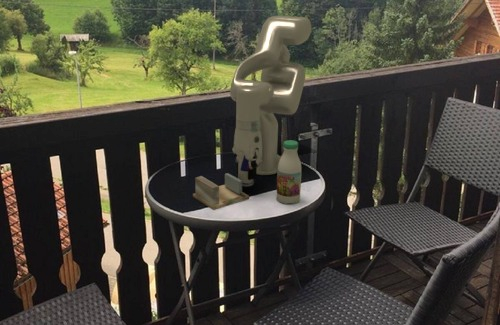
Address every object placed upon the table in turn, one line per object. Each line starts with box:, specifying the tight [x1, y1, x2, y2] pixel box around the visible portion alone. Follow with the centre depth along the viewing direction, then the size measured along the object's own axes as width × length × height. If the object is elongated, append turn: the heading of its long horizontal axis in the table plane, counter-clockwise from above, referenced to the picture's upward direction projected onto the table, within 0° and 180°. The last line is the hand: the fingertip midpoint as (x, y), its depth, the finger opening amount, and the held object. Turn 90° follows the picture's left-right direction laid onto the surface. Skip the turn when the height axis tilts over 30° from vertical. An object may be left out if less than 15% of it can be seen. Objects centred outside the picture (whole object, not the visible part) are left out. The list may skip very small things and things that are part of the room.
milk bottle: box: [275, 139, 302, 204], centre depth 175 cm, size 8×8×20 cm
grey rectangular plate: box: [224, 172, 246, 197], centre depth 180 cm, size 1×10×5 cm, turn 38°
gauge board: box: [192, 175, 250, 211], centre depth 178 cm, size 14×12×7 cm
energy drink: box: [237, 150, 255, 187], centre depth 182 cm, size 5×5×12 cm
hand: (246, 175), depth 183 cm, fingers closed on energy drink, 5 cm apart
